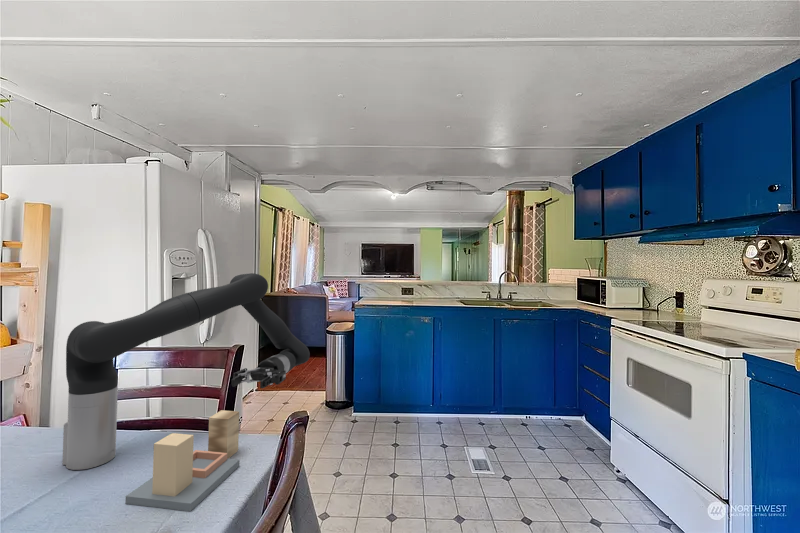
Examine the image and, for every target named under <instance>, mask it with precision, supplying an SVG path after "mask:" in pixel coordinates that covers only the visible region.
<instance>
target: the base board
mask: <svg viewBox="0 0 800 533" xmlns="http://www.w3.org/2000/svg"><path fill="white" fill-rule="evenodd" d="M194 440H195V435H194V434H185V433H175V432H174V433H173V432H172V433H170V434H168V435H167V436H165V437H163V438H161V439H160V440H158V441H156V442H155V443H153V457H152V458H153V461H152V477H151V478H150V479H148V480H147V481H146V482H144V483H142V484H141V485H140V486H138V487H137V488H135V489H134V490H132V491H130V493H128V494H126V496H125V505H132V506H141V507H150V508H159V509H166V510H167V509H168V510H174V511H175V510H176V511H185V512H192V511H193V510H194V509H195V508H196V507H197V506H198V505H200V504H201V502H202V501H203V500H205V499H206V498H207V497H208V496H209V495H210V494H211V493H212V492H213V491H214V490H215V489H217V488H218V487H219V486H220V485H221V484H222V483H223V482H224V481H226V479H227V478H228V477H229V476H230V475H232V473H234V472H235V471H236V470H237V469H238V468H239V467H240V464H241V463H240V459H236V458H229V459H228V458H227V453H222V452H211V451H208V450H199V449H195V450H194Z"/></svg>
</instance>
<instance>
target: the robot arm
mask: <svg viewBox="0 0 800 533" xmlns="http://www.w3.org/2000/svg"><path fill="white" fill-rule="evenodd" d="M268 289H269V283H268V281H267V278H266V277H264V276H263V275H261V274H259V273H242V274H237V275H235V276H234V277H233V278H232V279H231V280H230V282H229V283H228V284H224V285H220V286H214V287H209V288H208V287H207V288H203V289H197V290H193V291H190V292H186V293H185V292H184V293H182V294H180V295H176V296H173V297H171V298H168V299H165V300H163V301H161V302H160V303H158V304H156V305H154V306H153V307H151V308H150V309H148V310H145V311H144V312H142V313H140V314H137V315H134V316H130V317H127V318H124V319H120V320H115V321H112V322H103V321H97V320H92V321H91V320H90V321H85V322H82V323H80V324H78V325H77V326H75V327H73V329H72V330H71V331H70V333H69V334H68V336H67V339H66V348H65V373H66V374H65V375H66V380H67V385H68V397H67V400H68V401H67V403H68V405H67V422H65V423H64V424H63V432H62V436H63V438H62V462H61V464H62V466H65V468H66V469H69V470H72V471H73V470H74V471H79V470H80V471H81V470H87V469H93V468H95V467H99V466H101V465H103V464H106V463H108V462H110V461H112V460H113V459H114V458H115V457H116V450H117V424H118V423H117V422H118V421H117V420H118V419H117V418H118V417H117V416H118V393H119V391H118V389H119V388H118V386H119V376H118V373H117V371H116V369H115V364H114V358H116V357H119V356H120V355H123V354H124V353H126V352H129V351H131V350H132V349H135V348H137V347H138V346H140V345H143V344H145V343H148V342H149V341H153V340H155V339H157V338H161V337H163V336H167V335H170V334H172V333H174V332H177V331H180V330H183V329H186V328H189V327H192V326H194V325H196V324H198V323H199V324H200V323H201V322H203V321H205V320H207V319H210V318H212V317H214V316H217V315H219V314H221V313H223V312H226V311H228V310H230V309H233V308H236V307H238V306H242V308H244V309H245V310H246V312H247V313H248V314H249V315H250V316H251V317H252V318H253V320H255V322H257V323H258V325H259V326H260V327H261V329H262V330H263V331H264V332H265V334H266V336H267V337H268V338H269V340H270V341H271V343H272V344H273V345H274V346H275V348H276V349H279V350H281V351H280V352H279V353H278V354H275V355H272V356H270V357H268V358H266V359H264V360H262V361H261V362H259V364H258V365H257V366H256V367H255V368H254V369H249V370H248V368H246V367H245V368H242V369H239V370H238V371H235V372H233V378H232V379H231V380H230V381H231V382H230V383H231V387H236V386H238V385H241V384H242V383H247V384H250V383H254V382H256V383H258V382H259V383H260V386H259V388H260V389H265V388H267V387H268V386H272V385H273V384H275V385H277V386H278V385H281V384H282V383H283V382H284V381H285V380H286V379H287V378H286V375H287V373H289V372H290V371H292V370H293V369H294V368H295V367H298V366H300V365H303V364H305V363H307V362H309V360H310V356H311V353H310V350H309V348H308V346H307V345H306V344H305V343H303V342H302V341H301V340H300V339H299V338H298V337H296V336H295V335H294V334H293V333H292V331H291V330H290V329H289V327H288V326H287V324H286V323H285V321H284V320H283V319H282V318H281V317H280V316H279V315H277V314H276V313H275V312H274V311H273V310H271V309H270V308H269V307H268V306H267V305H266V304H265V303H264V301H263V300H262V298H264V297H265V296H266V294H267V292H268ZM250 378H251V379H250Z"/></svg>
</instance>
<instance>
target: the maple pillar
mask: <svg viewBox="0 0 800 533" xmlns="http://www.w3.org/2000/svg"><path fill="white" fill-rule="evenodd" d="M239 432H240V411H238V410H237V411H235V410H224V409H221V410H219V411H218V412H216V413H214V414H213V415H211V416H209V417H208V441H207V444H208V445H207V448H208V449H207V451H211V452H222V453H227V458H228V459H231V458H232V456H233V455H235V454H236V453H237V452H238V451H239V437H240V435H239Z"/></svg>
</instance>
